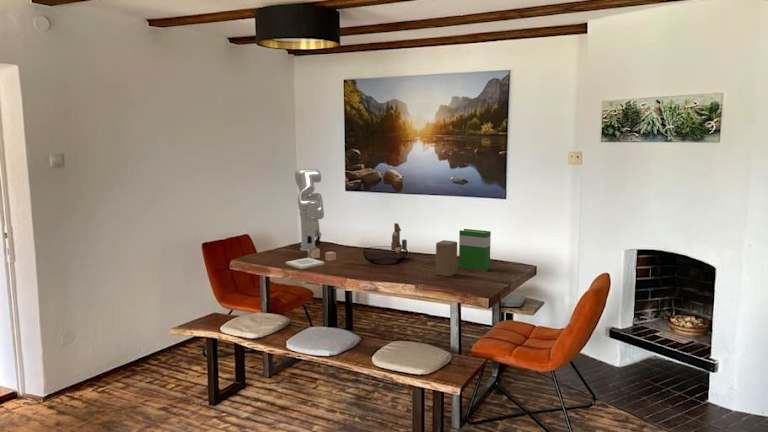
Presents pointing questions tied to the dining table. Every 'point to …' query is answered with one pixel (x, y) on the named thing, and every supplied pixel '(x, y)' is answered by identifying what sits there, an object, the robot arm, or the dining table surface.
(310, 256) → the maple block
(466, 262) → the green cereal box
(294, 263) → the plate
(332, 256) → the terracotta block
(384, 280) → the dining table surface
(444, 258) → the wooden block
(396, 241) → the wooden toy
